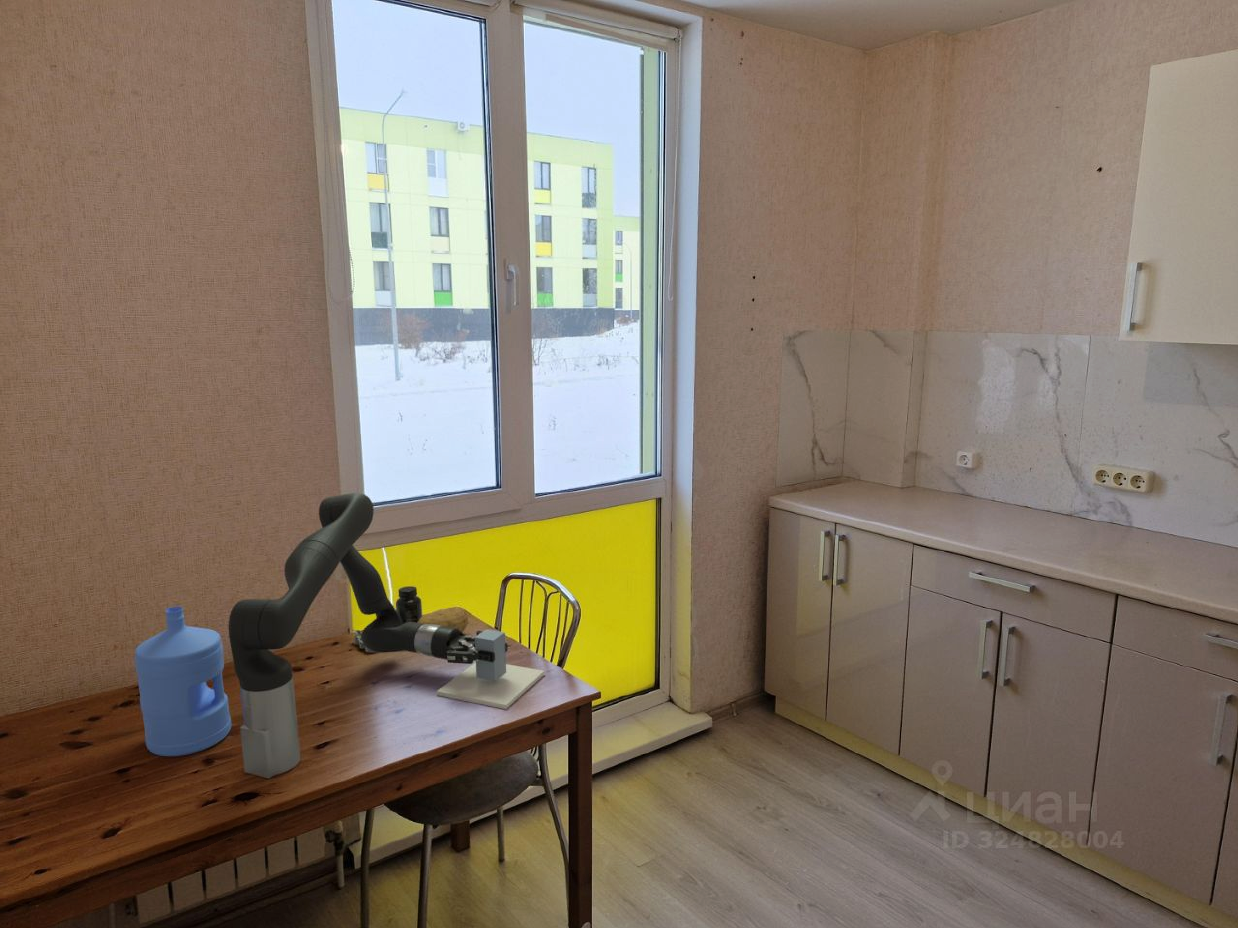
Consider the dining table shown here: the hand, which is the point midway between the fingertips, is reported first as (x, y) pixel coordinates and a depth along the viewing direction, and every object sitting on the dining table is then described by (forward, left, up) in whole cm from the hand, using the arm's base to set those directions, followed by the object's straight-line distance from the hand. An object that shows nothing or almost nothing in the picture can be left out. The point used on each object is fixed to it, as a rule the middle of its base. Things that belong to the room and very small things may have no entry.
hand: (500, 652), depth 185 cm
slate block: (0, +3, -6) cm, 7 cm away
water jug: (-43, +49, -9) cm, 65 cm away
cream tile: (0, +3, -8) cm, 9 cm away
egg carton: (+9, +44, -9) cm, 46 cm away
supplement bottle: (+20, +41, -9) cm, 46 cm away
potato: (+18, +29, -9) cm, 35 cm away
